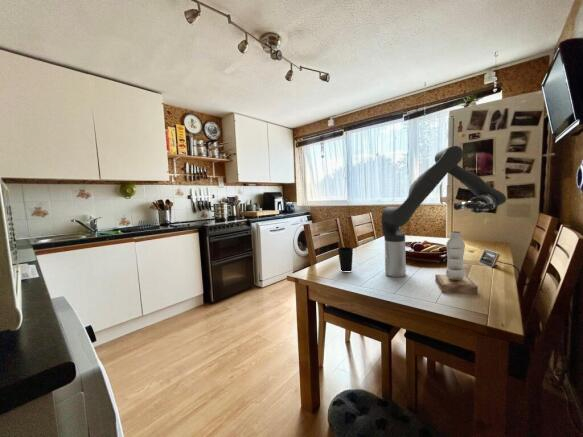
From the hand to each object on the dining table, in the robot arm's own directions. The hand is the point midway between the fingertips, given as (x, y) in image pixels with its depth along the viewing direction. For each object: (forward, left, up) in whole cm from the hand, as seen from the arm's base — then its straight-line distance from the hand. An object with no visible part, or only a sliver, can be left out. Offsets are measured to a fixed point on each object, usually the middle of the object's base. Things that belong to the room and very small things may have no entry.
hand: (467, 207), depth 108 cm
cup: (-53, +6, -32) cm, 62 cm away
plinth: (-7, -9, -32) cm, 34 cm away
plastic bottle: (-7, -9, -29) cm, 31 cm away
